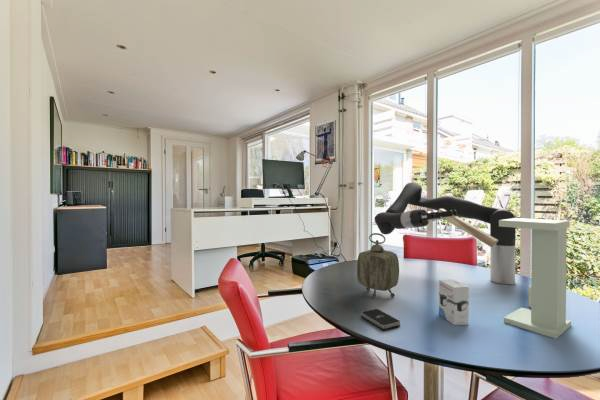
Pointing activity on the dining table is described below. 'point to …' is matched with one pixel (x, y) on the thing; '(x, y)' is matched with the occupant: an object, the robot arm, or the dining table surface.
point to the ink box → (454, 301)
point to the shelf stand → (544, 277)
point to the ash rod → (471, 230)
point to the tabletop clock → (378, 268)
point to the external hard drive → (380, 319)
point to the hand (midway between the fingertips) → (453, 212)
